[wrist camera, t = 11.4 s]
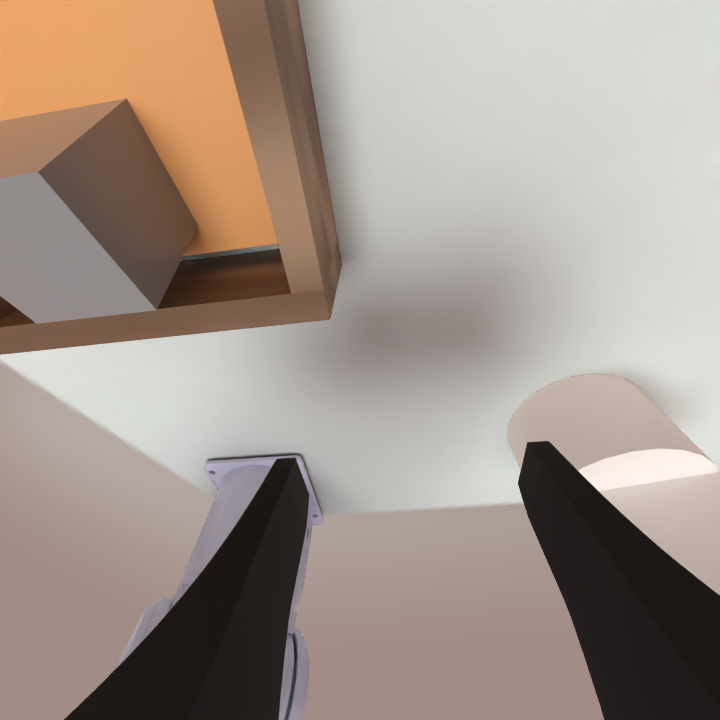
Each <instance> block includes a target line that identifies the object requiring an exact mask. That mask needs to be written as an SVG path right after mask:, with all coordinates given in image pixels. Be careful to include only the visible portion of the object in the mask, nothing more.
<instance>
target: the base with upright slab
mask: <svg viewBox="0 0 720 720" xmlns="http://www.w3.org/2000/svg"><path fill="white" fill-rule="evenodd" d="M507 438H508V441H509V443H510V446H511V449H512V451H513V453H514V455H515V458H516V460H517V462H518V465H519V467H520V469H521V468H522V463H523V458H524V454H525V449H526V445H527V442H537V441H549V442H550V443H552V445H553V446H554V447H555V448H556V449H557V450H558V451H559V452H560V453H561V454H562V455H563V456H564V457H565V458H566V459H567V460H568V461H569V462H570V463H571V464H572V465H573V466H574V467H575V468H576V469H577V470H578V471H579V472H580V473H581V474H582V475H583V476H584V477H585V478H586V479H587V480H588V481H589V482H590V483H591V484H592V485H593V486H594V487H595V488H596V489H597V490H598V491H599V492H600V493H601V494H602V495H603V496H604V497H605V498H606V499H607V500H608V501H609V502H610V503H611V504H613V505H614V506H615V507H616V508H617V509H618V510H619V511H620V512H621V513H622V514H623V515H624V516H625V517H626V518H628V519H629V520H630V521H631V522H632V523H633V524H634V525H635V526H636V527H637V528H639V529H640V530H641V531H642V532H643V533H644V534H645V535H647V536H648V537H649V538H650V539H651V540H652V541H653V542H655V543H656V544H657V545H658V546H659V547H660V548H662V549H663V550H664V551H665V552H666V553H667V554H669V555H670V556H671V557H672V558H673V559H675V560H676V561H677V562H678V563H680V564H681V565H682V566H683V567H684V568H686V569H687V570H688V571H689V572H691V573H692V574H693V575H694V576H696V577H697V578H698V579H699V580H701V581H702V582H703V583H704V584H706V585H707V586H708V587H710V588H711V589H712V590H714V591H715V592H716V593H718V594H719V595H720V473H719V471H718V469H717V467H716V465H715V464H714V463H713V462H712V461H711V460H710V459H709V458H708V457H707V456H706V455H705V454H704V453H703V452H702V451H701V450H700V449H699V448H698V447H697V446H696V445H695V444H694V443H693V442H692V441H691V440H690V439H689V438H688V437H687V436H686V435H685V434H684V433H683V432H682V431H681V430H680V429H679V428H678V427H677V426H676V425H675V424H674V423H673V422H672V421H671V420H670V419H669V418H668V417H667V416H666V415H665V414H664V413H663V412H662V411H661V410H660V409H659V408H658V407H657V406H656V405H655V404H654V403H653V402H652V401H651V400H650V399H649V398H648V397H647V396H646V395H645V394H644V393H643V392H642V391H641V390H640V389H639V388H638V387H637V386H635V385H634V384H632V383H631V382H630V381H628V380H627V379H624V378H621V377H617V376H614V375H608V374H587V375H580V376H573V377H570V378H567V379H564V380H560V381H557V382H554V383H552V384H550V385H548V386H546V387H544V388H543V389H541V390H539V391H537V392H535V393H534V394H533V395H532V396H530V397H529V398H528V399H527V400H525V401H524V402H523V403H522V404H521V405H520V406H519V408H518V409H517V410H516V411H515V412H514V414H513V415H512V418H511V420H510V422H509V425H508V431H507Z"/></svg>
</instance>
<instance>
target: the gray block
mask: <svg viewBox="0 0 720 720" xmlns="http://www.w3.org/2000/svg"><path fill="white" fill-rule="evenodd" d="M197 227H198V224H197V223H196V221H195V219H194V217H193V216H192V214H191V212H190V210H189V208H188V207H187V205H186V203H185V201H184V200H183V198H182V196H181V194H180V193H179V191H178V189H177V187H176V185H175V184H174V182H173V180H172V178H171V177H170V175H169V173H168V171H167V169H166V168H165V166H164V164H163V162H162V161H161V159H160V157H159V155H158V153H157V152H156V150H155V148H154V146H153V145H152V143H151V141H150V139H149V138H148V136H147V134H146V132H145V130H144V129H143V127H142V125H141V123H140V122H139V120H138V118H137V116H136V114H135V113H134V111H133V109H132V107H131V106H130V104H129V102H128V100H127V98H126V99H120V100H115V101H109V102H104V103H98V104H92V105H87V106H81V107H76V108H70V109H64V110H59V111H53V112H48V113H42V114H37V115H31V116H25V117H20V118H14V119H9V120H3V121H1V122H0V296H1V297H2V298H4V299H5V300H6V301H8V302H9V303H10V304H11V305H13V306H14V307H15V308H17V309H18V310H19V311H21V312H22V313H23V314H25V315H26V316H27V317H29V318H30V319H31V320H33V321H34V322H35V323H37V324H39V323H48V322H57V321H66V320H75V319H83V318H92V317H101V316H110V315H119V314H128V313H137V312H146V311H155V310H157V308H158V306H159V304H160V302H161V300H162V298H163V296H164V294H165V292H166V290H167V288H168V286H169V284H170V282H171V280H172V278H173V276H174V274H175V272H176V270H177V268H178V266H179V263H180V261H181V259H182V257H183V255H184V253H185V251H186V249H187V247H188V245H189V243H190V241H191V239H192V237H193V235H194V233H195V231H196V229H197Z"/></svg>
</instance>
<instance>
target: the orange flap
mask: <svg viewBox="0 0 720 720" xmlns="http://www.w3.org/2000/svg"><path fill="white" fill-rule="evenodd" d="M126 98H127V100H128V102H129V104H130V106H131V107H132V109H133V111H134V113H135V114H136V116H137V118H138V120H139V122H140V123H141V125H142V127H143V129H144V130H145V132H146V134H147V136H148V138H149V139H150V141H151V143H152V145H153V146H154V148H155V150H156V152H157V153H158V155H159V157H160V159H161V161H162V162H163V164H164V166H165V168H166V169H167V171H168V173H169V175H170V177H171V178H172V180H173V182H174V184H175V185H176V187H177V189H178V191H179V193H180V194H181V196H182V198H183V200H184V201H185V203H186V205H187V207H188V208H189V210H190V212H191V214H192V216H193V217H194V219H195V221H196V223H197V224H198V227H197V229H196V231H195V233H194V235H193V237H192V239H191V241H190V243H189V245H188V247H187V249H186V251H185V253H184V255H183V256H189V255H196V254H204V253H212V252H219V251H227V250H234V249H242V248H250V247H257V246H265V245H273V244H278V242H277V238H276V234H275V231H274V227H273V223H272V220H271V216H270V212H269V208H268V205H267V201H266V197H265V194H264V190H263V186H262V182H261V179H260V175H259V171H258V168H257V164H256V160H255V156H254V153H253V149H252V145H251V141H250V138H249V134H248V130H247V127H246V123H245V119H244V115H243V112H242V108H241V104H240V101H239V97H238V93H237V89H236V86H235V82H234V78H233V75H232V71H231V67H230V63H229V60H228V56H227V52H226V48H225V45H224V41H223V37H222V34H221V30H220V26H219V22H218V19H217V15H216V11H215V8H214V4H213V0H0V122H1V121H3V120H9V119H14V118H20V117H25V116H31V115H37V114H42V113H48V112H53V111H59V110H64V109H70V108H76V107H81V106H87V105H92V104H98V103H104V102H109V101H115V100H120V99H126Z"/></svg>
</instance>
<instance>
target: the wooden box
mask: <svg viewBox="0 0 720 720" xmlns="http://www.w3.org/2000/svg"><path fill="white" fill-rule="evenodd" d="M213 4H214V8H215V11H216V15H217V19H218V22H219V26H220V30H221V34H222V37H223V41H224V45H225V48H226V52H227V56H228V60H229V63H230V67H231V71H232V75H233V78H234V82H235V86H236V89H237V93H238V97H239V101H240V104H241V108H242V112H243V115H244V119H245V123H246V127H247V130H248V134H249V138H250V141H251V145H252V149H253V153H254V156H255V160H256V164H257V168H258V171H259V175H260V179H261V182H262V186H263V190H264V194H265V197H266V201H267V205H268V208H269V212H270V216H271V220H272V223H273V227H274V231H275V234H276V238H277V242H278V246H279V249H276V250H268V251H261V252H253V253H245V254H237V255H230V256H222V257H214V258H207V259H199V260H191V261H183V262H180V263H179V266H178V268H177V270H176V272H175V274H174V276H173V278H172V280H171V282H170V284H169V286H168V288H167V290H166V292H165V294H164V296H163V298H162V300H161V302H160V304H159V306H158V308H157V310H155V311H146V312H137V313H128V314H119V315H110V316H101V317H92V318H83V319H75V320H66V321H57V322H48V323H39V324H37V323H35V322H34V321H33V320H31V319H30V318H29V317H27V316H26V315H25V314H23V313H22V312H21V311H19V310H18V309H17V308H15V307H14V306H13V305H11V304H10V303H9V302H8V301H6V300H5V299H4V298H2V297H1V296H0V355H1V354H10V353H20V352H29V351H38V350H48V349H57V348H67V347H76V346H85V345H95V344H104V343H114V342H123V341H132V340H142V339H151V338H160V337H170V336H179V335H189V334H198V333H207V332H217V331H226V330H236V329H245V328H254V327H264V326H273V325H283V324H292V323H301V322H311V321H320V320H329V319H330V318H331V313H332V308H333V303H334V299H335V294H336V289H337V284H338V280H339V275H340V270H341V265H342V264H341V258H340V252H339V246H338V240H337V234H336V228H335V222H334V216H333V211H332V205H331V199H330V193H329V187H328V181H327V175H326V169H325V163H324V157H323V151H322V145H321V139H320V133H319V127H318V121H317V115H316V110H315V104H314V98H313V92H312V86H311V80H310V74H309V68H308V62H307V56H306V50H305V44H304V38H303V32H302V26H301V20H300V14H299V9H298V3H297V0H213Z"/></svg>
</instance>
